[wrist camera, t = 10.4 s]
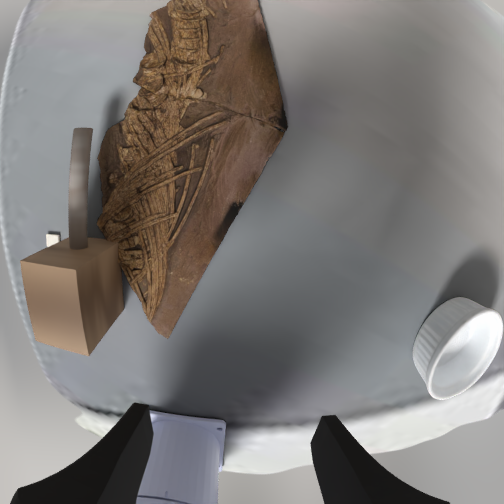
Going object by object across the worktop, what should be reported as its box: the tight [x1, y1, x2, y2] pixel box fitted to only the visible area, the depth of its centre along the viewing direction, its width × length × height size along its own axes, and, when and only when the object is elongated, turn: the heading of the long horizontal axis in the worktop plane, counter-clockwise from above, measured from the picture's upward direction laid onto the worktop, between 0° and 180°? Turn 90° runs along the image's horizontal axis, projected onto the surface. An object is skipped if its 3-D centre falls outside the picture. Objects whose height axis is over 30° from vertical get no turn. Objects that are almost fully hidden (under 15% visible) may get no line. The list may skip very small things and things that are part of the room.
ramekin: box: [413, 297, 503, 400], centre depth 19 cm, size 9×9×4 cm
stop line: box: [46, 234, 60, 247], centre depth 18 cm, size 6×1×1 cm, turn 174°
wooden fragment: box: [97, 0, 288, 339], centre depth 16 cm, size 26×11×1 cm, turn 164°
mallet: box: [20, 128, 124, 356], centre depth 14 cm, size 12×4×6 cm, turn 174°
